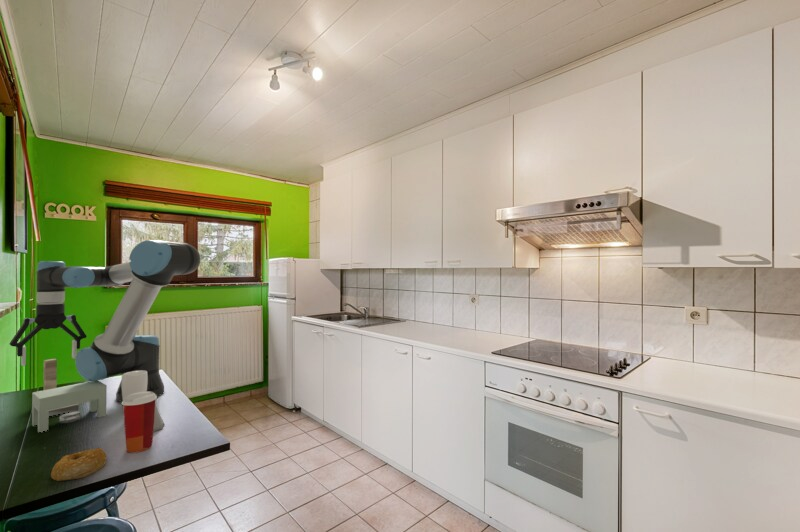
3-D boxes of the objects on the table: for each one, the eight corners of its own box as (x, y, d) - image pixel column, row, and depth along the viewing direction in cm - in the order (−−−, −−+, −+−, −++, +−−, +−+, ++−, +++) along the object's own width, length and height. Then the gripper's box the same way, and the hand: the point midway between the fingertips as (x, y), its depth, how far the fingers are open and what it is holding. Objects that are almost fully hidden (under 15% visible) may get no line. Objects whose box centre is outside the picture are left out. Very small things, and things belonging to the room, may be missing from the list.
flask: (153, 434, 106) (153, 399, 106) (128, 434, 106) (129, 399, 107) (169, 424, 113) (169, 391, 114) (146, 424, 114) (146, 391, 114)
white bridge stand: (31, 424, 114) (32, 392, 114) (96, 409, 127) (96, 380, 127) (39, 432, 108) (39, 398, 108) (106, 415, 121) (106, 385, 121)
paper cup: (151, 438, 104) (151, 388, 104) (160, 446, 99) (161, 394, 99) (117, 449, 97) (117, 396, 98) (125, 458, 93) (126, 402, 93)
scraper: (33, 405, 131) (34, 361, 131) (63, 399, 137) (63, 357, 138) (46, 417, 119) (47, 369, 120) (78, 410, 126) (78, 364, 126)
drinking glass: (117, 425, 112) (117, 376, 113) (126, 417, 119) (127, 371, 119) (142, 423, 114) (142, 375, 115) (150, 415, 121) (151, 369, 121)
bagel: (107, 456, 94) (107, 437, 94) (105, 474, 86) (105, 453, 86) (54, 468, 88) (54, 448, 88) (47, 490, 79) (47, 467, 80)
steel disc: (83, 416, 121) (83, 410, 121) (77, 422, 116) (77, 416, 116) (63, 419, 118) (63, 413, 119) (56, 425, 114) (56, 418, 114)
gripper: (91, 300, 146) (90, 353, 146) (-2, 305, 126) (-3, 366, 126) (96, 301, 142) (96, 356, 141) (2, 306, 122) (1, 370, 121)
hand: (49, 361), depth 133 cm, fingers open, 13 cm apart
